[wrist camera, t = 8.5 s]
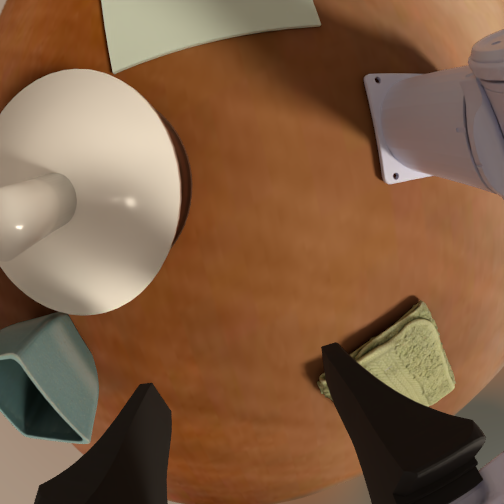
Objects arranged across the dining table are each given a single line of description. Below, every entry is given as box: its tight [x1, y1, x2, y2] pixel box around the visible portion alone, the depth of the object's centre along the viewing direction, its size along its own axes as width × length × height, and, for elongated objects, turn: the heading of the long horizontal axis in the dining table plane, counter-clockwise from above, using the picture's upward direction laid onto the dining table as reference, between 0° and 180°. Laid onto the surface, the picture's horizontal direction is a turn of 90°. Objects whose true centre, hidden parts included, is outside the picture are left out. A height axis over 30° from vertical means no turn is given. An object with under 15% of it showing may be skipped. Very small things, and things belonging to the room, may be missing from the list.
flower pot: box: [0, 312, 99, 444], centre depth 17 cm, size 9×9×9 cm
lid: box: [0, 69, 182, 315], centre depth 10 cm, size 12×12×5 cm
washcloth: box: [317, 300, 455, 407], centre depth 26 cm, size 13×18×3 cm
